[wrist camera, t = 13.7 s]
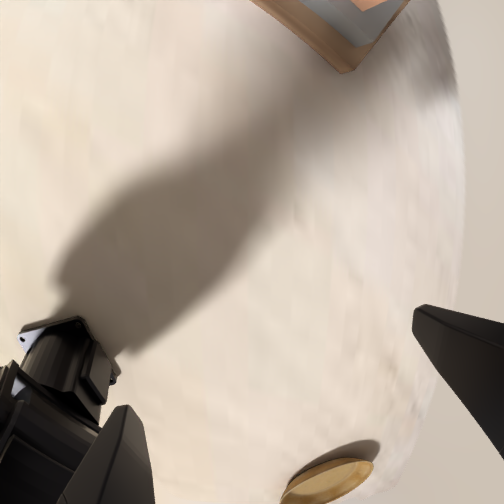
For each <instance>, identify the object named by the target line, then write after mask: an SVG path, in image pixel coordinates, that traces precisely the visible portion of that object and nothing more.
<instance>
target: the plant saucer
mask: <svg viewBox="0 0 504 504" xmlns="http://www.w3.org/2000/svg"><path fill="white" fill-rule="evenodd" d="M373 467H374V466H373V463H371V462H369V461H366V460H362V459H357V458H339V459H334V460H331V461H327V462H325V463H322V464H319V465H317V466H315V467H313V468H311V469H309V470H307V471H305V472H304V473H302V474H300V475H299V476H297V477H296V478H295V479H294V480H293V481H292V482H291V483H290V484H289V485H288V487H287V488H286V490H285V491H284V493H283V495H282V497H281V500H280V503H279V504H327V503H329V502H332V501H334V500H336V499H338V498H340V497H342V496H344V495H346V494H347V493H349V492H350V491H352V490H354V489H355V488H356V487H358V486H359V485H360V484H361V483H363V482H364V481H365V480H366V479H367V478H368V477H369V475H370V474H371V472H372V470H373Z"/></svg>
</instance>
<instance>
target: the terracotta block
mask: <svg viewBox="0 0 504 504" xmlns="http://www.w3.org/2000/svg"><path fill="white" fill-rule="evenodd" d="M350 1H351V2H353V3H354V4H355V5H356V6H357V7H358V8H359V9H360V10H361V11H362V12H363V11H365V10H367V9H369V8H371V7H374V6H376V5H378V4H380V3H382V2H384V1H387V0H350Z"/></svg>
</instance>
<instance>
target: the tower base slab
mask: <svg viewBox="0 0 504 504" xmlns="http://www.w3.org/2000/svg"><path fill="white" fill-rule="evenodd" d="M250 1H251V2H253V3H254V4H256V5H257V6H259V7H260V8H261V9H263V10H264V11H266V12H267V13H268V14H270V15H271V16H273V17H274V18H275V19H277V20H278V21H279V22H281V23H282V24H283V25H284V26H286V27H287V28H288V29H290V30H291V31H292V32H293V33H295V34H296V35H297V36H298V37H299V38H301V39H302V40H303V41H304V42H306V43H307V44H308V45H309V46H310V47H311V48H313V49H314V50H315V51H316V52H317V53H318V54H319V55H321V56H322V57H323V58H324V59H325V60H326V61H327V62H328V63H330V64H331V65H332V66H333V67H334V68H335V69H336V70H337V71H338V72H339V73H340V74H342V73H346V72H350V71H353V70H355V69H356V67H357V66H358V65H359V64H360V62H361V61H362V60H363V58H364V57H365V56H366V55H367V53H368V52H369V51H370V50H371V48H372V47H373V46H374V45H375V43H376V42H377V41H378V39H379V38H380V37H381V36H382V34H383V33H384V32H385V31H386V30H387V28H388V27H389V26H390V25H391V23H392V22H393V21H394V20H395V18H396V17H397V16H398V15H399V13H400V12H401V11H402V10H403V9H404V7H405V6H406V5H407V4H408V2H409V1H410V0H404V1H403V2H402V4H401V5H400V7H399V8H398V9H397V11H396V12H395V13H394V15H393V16H392V17H391V19H390V20H389V21H388V23H387V24H386V25H385V27H384V28H383V30H382V31H381V32H380V34H379V35H378V36H377V38H376V39H375V41H374V42H372V43H369V44H366V45H363V46H360V47H357V48H356V47H355V46H353V45H352V44H351V43H350V42H349V41H348V40H347V39H346V38H345V37H343V36H342V35H341V34H340V33H339V32H338V31H337V30H335V29H334V28H333V27H332V26H331V25H329V24H328V23H327V22H326V21H325V20H323V19H322V18H321V17H320V16H318V15H317V14H316V13H315V12H313V11H312V10H311V9H310V8H308V7H307V6H306V5H304V4H303V3H302V2H300V1H299V0H250Z"/></svg>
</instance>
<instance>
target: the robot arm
mask: <svg viewBox="0 0 504 504" xmlns="http://www.w3.org/2000/svg"><path fill="white" fill-rule="evenodd" d="M76 322H78V323H80V324H81V325H78V324H77V323H76ZM412 332H413V335H414V336H415V338H416V339H417V341H418V342H419V344H420V345H421V347H422V348H423V350H424V352H425V353H426V355H427V356H428V358H429V359H430V361H431V362H432V364H433V365H434V367H435V368H436V370H437V371H438V372H439V374H440V375H441V376H442V377H443V379H444V380H445V381H446V382H447V384H448V385H449V386H450V387H451V388H452V390H453V391H454V392H455V394H456V395H457V396H458V398H459V399H460V400H461V402H462V403H463V404H464V405H465V407H466V408H467V409H468V411H469V412H470V413H471V415H472V416H473V417H474V419H475V420H476V421H477V423H478V424H479V425H480V427H481V428H482V430H483V431H484V432H485V434H486V435H487V436H488V438H489V439H490V441H491V442H492V443H493V445H494V446H495V448H496V449H497V450H498V452H499V454H500V455H501V456H502V458H503V459H504V323H500V322H496V321H492V320H488V319H484V318H479V317H476V316H472V315H468V314H464V313H460V312H456V311H452V310H448V309H444V308H440V307H436V306H432V305H428V304H423V305H421V306H419V307H417V308H416V309H415V310H414V313H413V322H412ZM22 337H23V338H24V339H23V338H22ZM17 339H18V341H19V343H20V345H21V346H22V348H23V350H24V351H25V353H26V355H25V357H24V359H23V361H22V363H21V365H20V367H19V364H17V363H16V362H15V361H14V360H12V361H11V362H10V363H9V364H8V365H7V366H6V365H5V366H4V367H3V366H2V367H0V504H155V497H154V488H153V477H152V469H151V463H150V459H149V453H148V448H147V443H146V437H145V431H144V426H143V423H142V421H141V420H140V418H139V417H138V416H137V414H136V413H135V411H134V410H133V409H132V407H131V406H130V405H122V406H117V407H116V408H115V409H114V410H113V412H112V413H111V415H110V417H109V418H108V420H107V421H106V423H105V424H104V426H103V428H101V427H99V426H98V425H99V419H100V412H101V405H105V404H106V402H107V396H108V389H109V386H110V385H114V384H115V383H116V380H117V377H116V375H115V373H114V372H113V370H112V365H111V363H110V362H109V360H108V358H107V356H106V355H105V353H104V351H103V349H102V348H101V346H100V344H99V342H98V341H96V340H95V339H94V337H93V335H92V334H91V332H90V330H89V328H88V326H87V324H86V322H85V320H84V319H83V318H82V317H79V316H76V317H72V318H69V319H65V320H61V321H58V322H54V323H50V324H47V325H43V326H39V327H36V328H32V329H28V330H25V331H21V332H19V334H18V336H17ZM110 378H111V379H110Z"/></svg>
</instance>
